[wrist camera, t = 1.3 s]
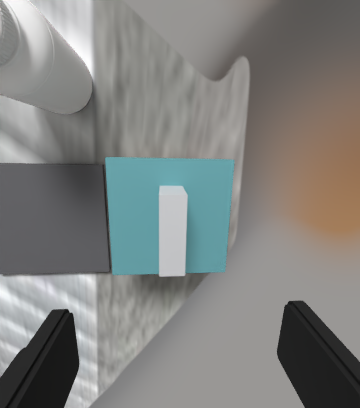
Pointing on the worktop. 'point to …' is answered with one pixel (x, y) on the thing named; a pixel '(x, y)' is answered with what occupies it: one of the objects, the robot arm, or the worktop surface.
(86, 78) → the pill bottle
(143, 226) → the lid
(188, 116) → the worktop surface
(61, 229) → the mat
